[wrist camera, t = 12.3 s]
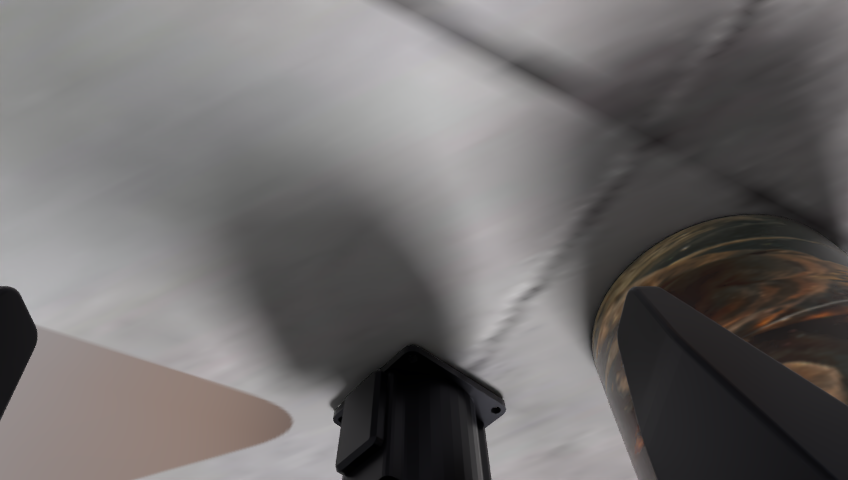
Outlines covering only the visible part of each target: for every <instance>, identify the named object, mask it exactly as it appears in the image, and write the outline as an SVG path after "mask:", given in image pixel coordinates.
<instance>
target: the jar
mask: <svg viewBox="0 0 848 480" xmlns="http://www.w3.org/2000/svg"><path fill="white" fill-rule="evenodd" d="M634 286H657V287H660V288H662V289H664V290H665V291H667V292H669V293H670V294H672V295H673V296H675V297H676V298H678V299H680V300H681V301H683V302H684V303H686V304H688V305H689V306H691V307H692V308H694V309H695V310H697V311H699V312H700V313H702V314H703V315H705V316H707V317H708V318H710V319H711V320H713V321H715V322H716V323H718V324H719V325H721V326H722V327H724V328H726V329H727V330H729V331H730V332H732V333H734V334H735V335H737V336H738V337H740V338H741V339H743V340H745V341H746V342H748V343H749V344H751V345H753V346H754V347H756V348H757V349H759V350H760V351H762V352H764V353H765V354H767V355H768V356H770V357H772V358H773V359H775V360H776V361H778V362H780V363H781V364H783V365H784V366H786V367H787V368H789V369H791V370H792V371H794V372H795V373H797V374H799V375H800V376H802V377H803V378H805V379H806V380H808V381H810V382H811V383H813V384H814V385H816V386H818V387H819V388H821V389H822V390H824V391H826V392H827V393H829V394H830V395H832V396H833V397H835V398H837V399H838V400H840V401H841V402H843V403H845V404H846V405H848V255H847V254H846V253H845V252H844V251H842V250H841V249H840V248H839V247H837V246H836V245H835V244H833V243H832V242H831V241H830V240H828V239H827V238H826V237H824V236H823V235H821V234H820V233H819V232H817V231H815V230H814V229H812V228H810V227H808V226H807V225H805V224H802V223H800V222H797V221H795V220H791V219H788V218H784V217H779V216H773V215H764V214H747V215H735V216H728V217H723V218H718V219H714V220H710V221H706V222H703V223H700V224H697V225H694V226H692V227H689V228H687V229H684V230H682V231H680V232H678V233H676V234H674V235H672V236H670V237H668V238H666V239H665V240H663V241H661V242H660V243H658V244H656V245H655V246H653V247H652V248H650V249H649V250H648V251H646V252H645V253H644V254H642V255H641V256H640V257H639V258H637V259H636V260H635V261H634V262H633V263H632V264H631V265H630V266H629V267H628V268H627V269H626V270H625V271H624V272H623V273H622V274H621V275H620V276H619V277H618V279H617V280H616V281H615V282H614V284H613V285H612V287H611V288H610V289H609V291H608V292H607V294H606V296H605V298H604V299H603V301H602V303H601V305H600V308H599V310H598V312H597V315H596V318H595V322H594V326H593V332H592V353H593V357H594V362H595V365H596V368H597V371H598V374H599V377H600V380H601V383H602V385H603V388H604V391H605V394H606V396H607V399H608V402H609V404H610V407H611V410H612V412H613V415H614V418H615V420H616V423H617V425H618V428H619V431H620V433H621V436H622V439H623V441H624V444H625V446H626V449H627V452H628V454H629V457H630V459H631V462H632V465H633V467H634V470H635V472H636V475H637V478H638V480H658V479H657V477H656V474H655V471H654V469H653V466H652V463H651V461H650V458H649V456H648V453H647V450H646V447H645V444H644V442H643V439H642V436H641V432H640V429H639V425H638V422H637V418H636V414H635V410H634V406H633V402H632V398H631V394H630V390H629V386H628V382H627V378H626V374H625V370H624V366H623V362H622V358H621V355H620V351H619V347H618V341H617V330H618V325H619V321H620V317H621V314H622V310H623V306H624V302H625V298H626V295H627V292H628V291H629V289H630V288H632V287H634Z"/></svg>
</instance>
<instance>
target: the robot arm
mask: <svg viewBox="0 0 848 480" xmlns="http://www.w3.org/2000/svg"><path fill="white" fill-rule="evenodd" d="M617 341H618V347H619V351H620V355H621V358H622V362H623V366H624V370H625V374H626V378H627V382H628V386H629V390H630V394H631V398H632V402H633V406H634V410H635V414H636V418H637V422H638V425H639V429H640V432H641V436H642V439H643V442H644V444H645V447H646V450H647V453H648V456H649V458H650V461H651V463H652V466H653V469H654V471H655V474H656V477H657V479H658V480H848V405H846V404H845V403H843V402H841V401H840V400H838V399H837V398H835V397H833V396H832V395H830V394H829V393H827V392H826V391H824V390H822V389H821V388H819V387H818V386H816V385H814V384H813V383H811V382H810V381H808V380H806V379H805V378H803V377H802V376H800V375H799V374H797V373H795V372H794V371H792V370H791V369H789V368H787V367H786V366H784V365H783V364H781V363H780V362H778V361H776V360H775V359H773V358H772V357H770V356H768V355H767V354H765V353H764V352H762V351H760V350H759V349H757V348H756V347H754V346H753V345H751V344H749V343H748V342H746V341H745V340H743V339H741V338H740V337H738V336H737V335H735V334H734V333H732V332H730V331H729V330H727V329H726V328H724V327H722V326H721V325H719V324H718V323H716V322H715V321H713V320H711V319H710V318H708V317H707V316H705V315H703V314H702V313H700V312H699V311H697V310H695V309H694V308H692V307H691V306H689V305H688V304H686V303H684V302H683V301H681V300H680V299H678V298H676V297H675V296H673V295H672V294H670V293H669V292H667V291H665V290H664V289H662V288H660V287H657V286H634V287H632V288H630V289H629V291H628V292H627V295H626V298H625V302H624V306H623V310H622V314H621V317H620V321H619V325H618V330H617ZM36 343H37V329H36V326H35V324H34V322H33V320H32V318H31V316H30V314H29V312H28V310H27V307H26V305H25V303H24V301H23V299H22V297H21V295H20V293H19V292H18V291H17V290H16V289H14V288H12V287H9V286H0V420H1V418H2V415H3V413H4V411H5V409H6V407H7V405H8V403H9V401H10V399H11V397H12V395H13V392H14V390H15V388H16V386H17V384H18V382H19V380H20V378H21V376H22V374H23V371H24V369H25V367H26V365H27V363H28V361H29V359H30V357H31V355H32V352H33V350H34V348H35V346H36ZM410 355H415V357H410ZM494 407H495V408H494ZM505 411H506V408H505V403H504V400H503V399H501V398H500V397H498V396H497V395H495V394H493V393H492V392H490V391H489V390H487V389H485V388H484V387H482V386H481V385H479V384H477V383H476V382H474V381H473V380H471V379H469V378H468V377H466V376H465V375H463V374H462V373H460V372H458V371H457V370H455V369H454V368H452V367H450V366H449V365H447V364H446V363H444V362H442V361H441V360H439V359H438V358H436V357H434V356H433V355H431V354H430V353H428V352H427V351H425V350H423V349H422V348H420V347H418V346H416V345H410V346H407V347H405V348H404V349H403V350H401V351H400V352H399V353H398V354H397V355H396V356H395V357H394V358H392V359H391V360H390V361H389V362H388V363H387V364H386V365H385V366H384V367H382V368H381V369H380V370H377V371H375V372H373V373H372V374H371V375H370V376H369V377H368V378H367V379H366V380H365V381H363V382H362V383H361V384H360V385H359V386H358V387H357V388H356V389H355V390H353V391H352V392H351V393H350V394H349V395H348V396H347V397H346V398H345V402H343V403H342V404H341V405H340V406H339V407H338V408H337V409H336V410H335V411H334V417H333V421H334V423H336V424H337V425H339V426H340V427H341V430H340V437H339V444H338V451H337V458H336V470H337V472H338V473H340V474H342V475H343V477H342V480H491V473H490V465H489V457H488V450H487V442H486V434H485V428H486V427H487V426H488V425H490V424H491V423H492V422H494V421H495V420H496V419H498V418H499V417H500V416H502V415H503V414H504V413H505Z"/></svg>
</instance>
